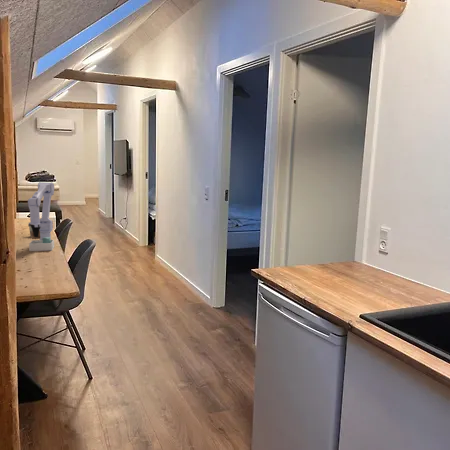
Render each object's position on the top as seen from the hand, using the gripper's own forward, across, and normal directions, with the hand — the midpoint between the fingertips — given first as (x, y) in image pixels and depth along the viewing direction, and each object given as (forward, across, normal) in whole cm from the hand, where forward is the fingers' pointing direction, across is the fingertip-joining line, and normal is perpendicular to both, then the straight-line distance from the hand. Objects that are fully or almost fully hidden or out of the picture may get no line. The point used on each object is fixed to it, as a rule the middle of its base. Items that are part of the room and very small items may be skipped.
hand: (35, 236), depth 297 cm
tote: (+9, -1, +4) cm, 10 cm away
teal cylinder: (+9, 0, +6) cm, 11 cm away
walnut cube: (+1, 0, 0) cm, 1 cm away
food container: (+10, -52, +6) cm, 53 cm away
